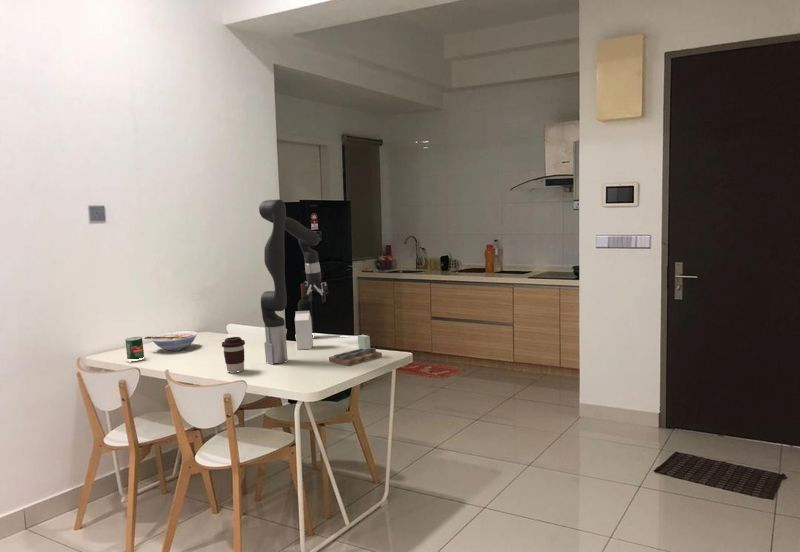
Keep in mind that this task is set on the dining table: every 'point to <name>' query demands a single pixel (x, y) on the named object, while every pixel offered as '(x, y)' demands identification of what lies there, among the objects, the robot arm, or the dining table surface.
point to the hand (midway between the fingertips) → (317, 301)
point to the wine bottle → (305, 305)
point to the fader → (363, 342)
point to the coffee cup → (234, 353)
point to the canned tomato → (134, 348)
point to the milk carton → (303, 330)
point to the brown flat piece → (355, 356)
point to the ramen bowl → (174, 340)
